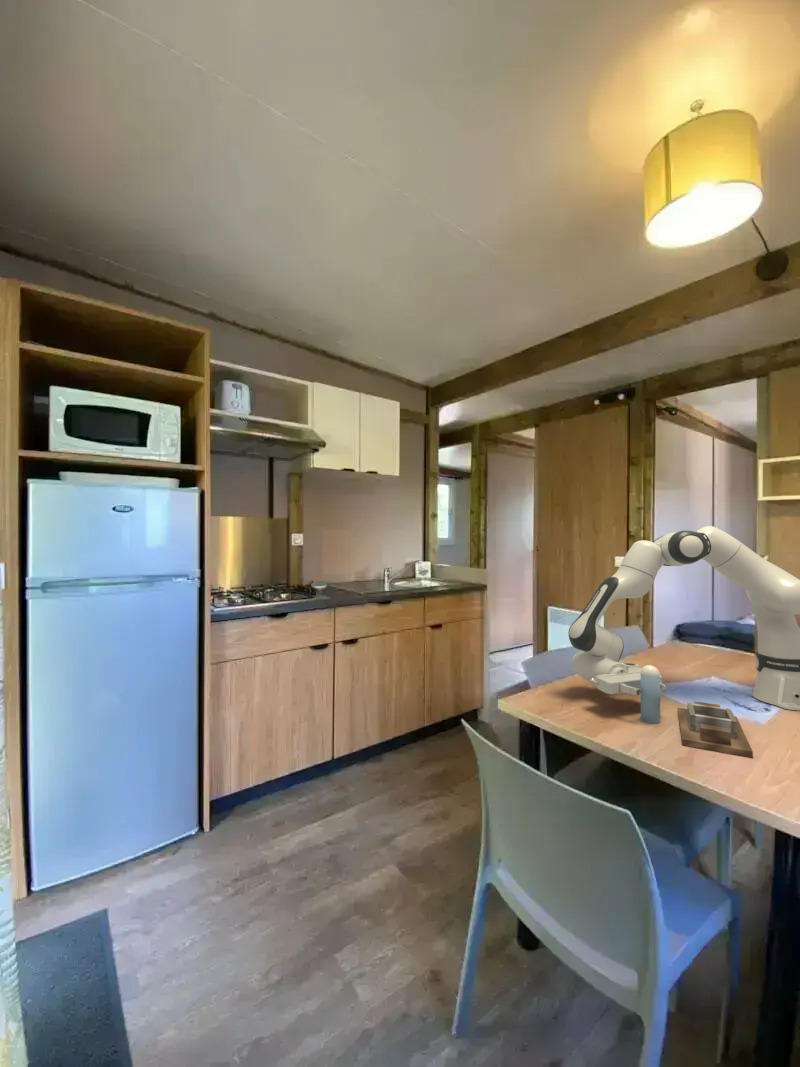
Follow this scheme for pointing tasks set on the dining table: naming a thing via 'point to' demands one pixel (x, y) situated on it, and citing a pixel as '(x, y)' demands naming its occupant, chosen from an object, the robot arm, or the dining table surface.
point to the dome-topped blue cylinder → (650, 694)
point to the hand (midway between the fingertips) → (650, 690)
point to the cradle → (712, 729)
